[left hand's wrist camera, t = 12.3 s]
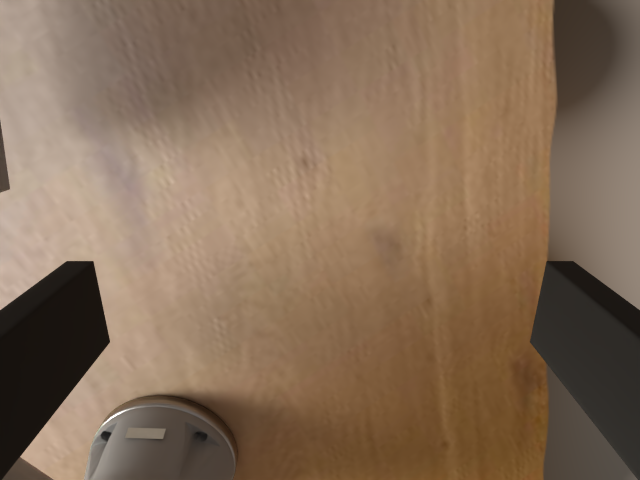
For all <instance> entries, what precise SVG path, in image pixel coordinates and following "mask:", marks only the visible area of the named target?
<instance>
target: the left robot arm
mask: <svg viewBox="0 0 640 480" xmlns="http://www.w3.org/2000/svg"><path fill="white" fill-rule="evenodd" d="M109 343H110V340H109V335H108V330H107V325H106V320H105V315H104V311H103V306H102V301H101V296H100V291H99V286H98V282H97V277H96V272H95V267H94V262H93V261H67V262H65V263H64V264H62V265H61V266H60V267H58V268H57V269H56V270H54V271H53V272H52V273H50V274H49V275H48V276H46V277H45V278H43V279H42V280H41V281H39V282H38V283H37V284H35V285H34V286H33V287H31V288H30V289H29V290H27V291H26V292H24V293H23V294H22V295H20V296H19V297H18V298H16V299H15V300H14V301H12V302H11V303H10V304H8V305H7V306H5V307H4V308H3V309H1V310H0V480H53V479H52V478H50V477H49V476H47V475H46V474H44V473H43V472H41V471H40V470H38V469H37V468H35V467H34V466H32V465H31V464H29V463H28V462H26V461H25V460H23V459H22V458H21V457H20V456H21V455H22V453H23V452H24V451H25V450H26V448H27V447H28V446H29V445H30V443H31V442H32V441H33V439H34V438H35V437H36V436H37V434H38V433H39V432H40V431H41V429H42V428H43V427H44V425H45V424H46V423H47V422H48V420H49V419H50V418H51V417H52V415H53V414H54V413H55V411H56V410H57V409H58V408H59V406H60V405H61V404H62V403H63V401H64V400H65V399H66V397H67V396H68V395H69V394H70V392H71V391H72V390H73V389H74V387H75V386H76V385H77V383H78V382H79V381H80V380H81V378H82V377H83V376H84V375H85V373H86V372H87V371H88V369H89V368H90V367H91V366H92V364H93V363H94V362H95V361H96V359H97V358H98V357H99V355H100V354H101V353H102V352H103V350H104V349H105V348H106V346H107V345H108V344H109ZM530 343H531V344H532V345H533V346H534V348H535V349H536V350H537V352H538V353H539V354H540V355H541V357H542V358H543V359H544V361H545V362H546V363H547V364H548V366H549V367H550V368H551V369H552V371H553V372H554V373H555V374H556V376H557V377H558V378H559V380H560V381H561V382H562V383H563V385H564V386H565V387H566V389H567V390H568V391H569V392H570V394H571V395H572V396H573V397H574V399H575V400H576V401H577V403H578V404H579V405H580V406H581V408H582V409H583V410H584V411H585V413H586V414H587V415H588V417H589V418H590V419H591V420H592V422H593V423H594V424H595V425H596V427H597V428H598V429H599V431H600V432H601V433H602V434H603V436H604V437H605V438H606V439H607V441H608V442H609V443H610V445H611V446H612V447H613V448H614V450H615V451H616V452H617V453H618V455H619V456H620V457H621V459H622V460H623V461H624V462H625V464H626V465H627V466H628V468H629V469H630V470H631V471H632V473H633V474H634V475H635V476H636V478H637V479H638V480H640V310H639V309H637V308H636V307H635V306H633V305H632V304H630V303H629V302H628V301H626V300H625V299H624V298H622V297H621V296H620V295H618V294H617V293H616V292H614V291H613V290H611V289H610V288H609V287H607V286H606V285H605V284H603V283H602V282H601V281H599V280H598V279H597V278H595V277H594V276H592V275H591V274H590V273H588V272H587V271H586V270H584V269H583V268H582V267H580V266H579V265H578V264H576V263H575V262H573V261H547V262H546V267H545V272H544V277H543V282H542V286H541V291H540V296H539V301H538V306H537V311H536V315H535V320H534V325H533V330H532V335H531V340H530ZM237 457H238V454H237V446H236V442H235V440H234V437H233V435H232V433H231V432H230V430H229V429H228V427H227V426H226V425H225V424H224V422H223V421H222V420H221V419H220V418H218V417H217V416H216V415H215V414H214V413H212V412H211V411H209V410H208V409H206V408H204V407H202V406H200V405H198V404H196V403H194V402H191V401H188V400H184V399H181V398H176V397H169V396H149V397H142V398H138V399H134V400H131V401H129V402H126V403H124V404H122V405H120V406H119V407H117V408H116V409H115V410H113V411H112V412H111V413H110V414H109V415H108V416H107V417H106V419H105V420H104V422H103V423H102V425H101V426H100V428H99V430H98V431H97V433H96V435H95V437H94V439H93V442H92V445H91V448H90V452H89V457H88V462H87V467H86V472H85V477H84V480H233V478H234V473H235V469H236V464H237Z"/></svg>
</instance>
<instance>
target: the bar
mask: <svg viewBox="0 0 640 480" xmlns="http://www.w3.org/2000/svg"><path fill="white" fill-rule="evenodd" d="M9 189H10V186H9V179H8V172H7V165H6V158H5V151H4V144H3V136H2V129H1V122H0V192H3V191H6V190H9Z"/></svg>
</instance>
